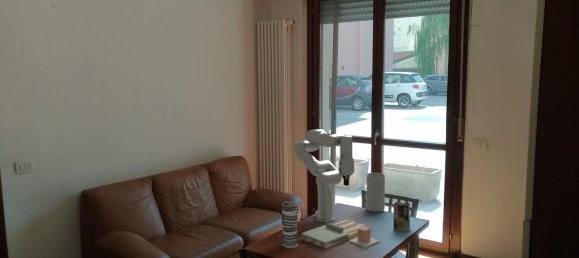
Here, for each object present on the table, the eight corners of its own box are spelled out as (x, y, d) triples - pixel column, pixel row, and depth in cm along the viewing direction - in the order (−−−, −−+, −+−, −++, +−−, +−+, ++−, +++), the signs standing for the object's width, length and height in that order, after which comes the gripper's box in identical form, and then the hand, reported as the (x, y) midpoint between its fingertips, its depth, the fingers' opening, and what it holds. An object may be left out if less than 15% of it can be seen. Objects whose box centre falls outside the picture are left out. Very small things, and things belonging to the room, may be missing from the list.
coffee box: (410, 228, 257) (410, 203, 255) (408, 232, 251) (408, 206, 249) (395, 226, 261) (395, 201, 259) (393, 230, 255) (393, 204, 253)
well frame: (301, 239, 243) (301, 235, 243) (346, 223, 269) (346, 219, 268) (325, 248, 229) (325, 244, 229) (370, 230, 254) (370, 226, 254)
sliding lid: (301, 234, 243) (301, 228, 242) (324, 226, 255) (324, 221, 255) (325, 244, 229) (325, 237, 228) (348, 234, 241) (348, 229, 241)
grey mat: (349, 242, 238) (349, 240, 238) (362, 236, 246) (362, 234, 246) (365, 248, 229) (365, 246, 229) (379, 242, 237) (379, 240, 237)
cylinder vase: (384, 212, 288) (385, 177, 285) (366, 211, 290) (366, 176, 287) (384, 207, 300) (384, 172, 297) (366, 206, 302) (366, 172, 299)
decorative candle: (288, 240, 242) (287, 198, 239) (301, 244, 236) (300, 201, 233) (278, 245, 235) (277, 202, 232) (291, 249, 229) (290, 205, 226)
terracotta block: (357, 240, 237) (357, 228, 237) (363, 238, 241) (363, 226, 240) (364, 242, 234) (364, 230, 233) (370, 240, 237) (370, 228, 236)
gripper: (342, 158, 247) (342, 188, 249) (358, 154, 257) (358, 184, 259) (333, 156, 253) (333, 186, 255) (349, 153, 262) (349, 182, 265)
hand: (346, 185), depth 257 cm, fingers closed
